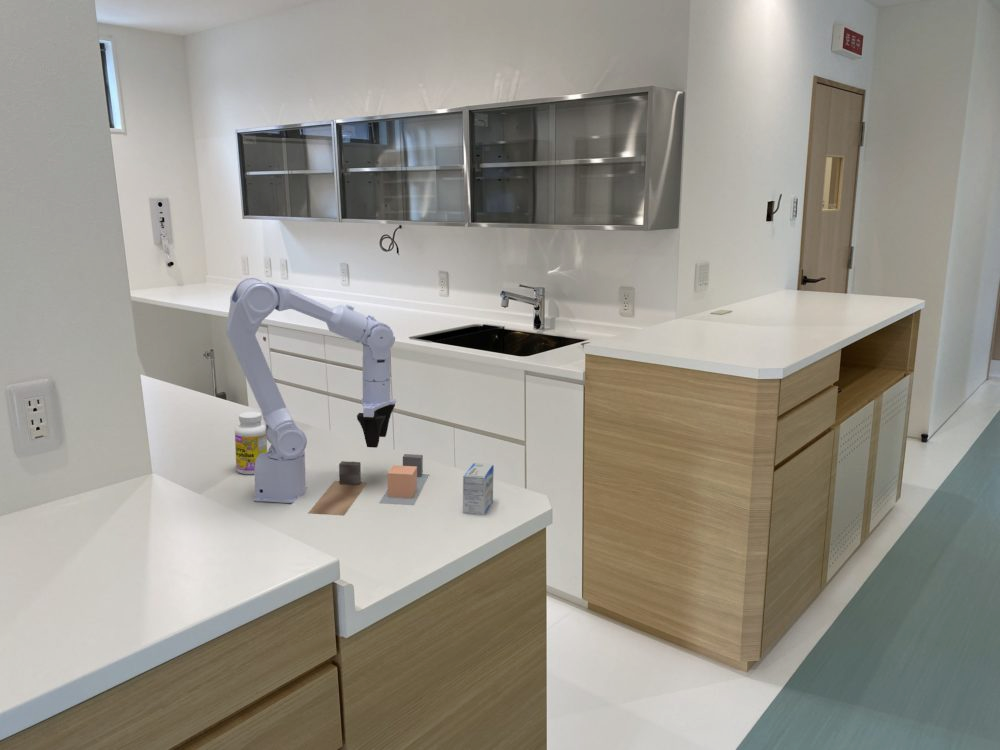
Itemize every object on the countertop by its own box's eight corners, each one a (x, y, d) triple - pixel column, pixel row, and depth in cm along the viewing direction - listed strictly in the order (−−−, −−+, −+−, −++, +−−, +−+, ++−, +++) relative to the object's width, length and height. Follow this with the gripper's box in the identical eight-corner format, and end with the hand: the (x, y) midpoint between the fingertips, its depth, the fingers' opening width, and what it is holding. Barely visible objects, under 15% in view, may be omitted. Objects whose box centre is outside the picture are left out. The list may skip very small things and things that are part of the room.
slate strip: (378, 506, 148) (378, 481, 147) (397, 476, 166) (397, 453, 165) (414, 508, 148) (414, 483, 147) (429, 477, 166) (429, 455, 165)
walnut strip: (307, 517, 142) (307, 491, 141) (335, 484, 160) (334, 460, 159) (344, 519, 142) (343, 493, 141) (367, 486, 160) (367, 462, 158)
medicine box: (484, 520, 144) (485, 477, 142) (461, 517, 145) (462, 474, 143) (493, 505, 152) (494, 464, 150) (471, 502, 152) (472, 462, 151)
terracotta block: (387, 496, 152) (387, 473, 151) (393, 488, 157) (393, 465, 156) (412, 498, 151) (412, 474, 150) (416, 489, 156) (417, 466, 155)
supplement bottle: (229, 472, 165) (227, 415, 163) (250, 463, 171) (248, 409, 169) (254, 477, 163) (252, 419, 160) (274, 468, 169) (272, 412, 166)
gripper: (387, 387, 149) (387, 452, 152) (402, 372, 163) (402, 432, 166) (352, 385, 150) (353, 451, 153) (370, 371, 164) (370, 431, 167)
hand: (376, 441), depth 159 cm, fingers open, 7 cm apart
